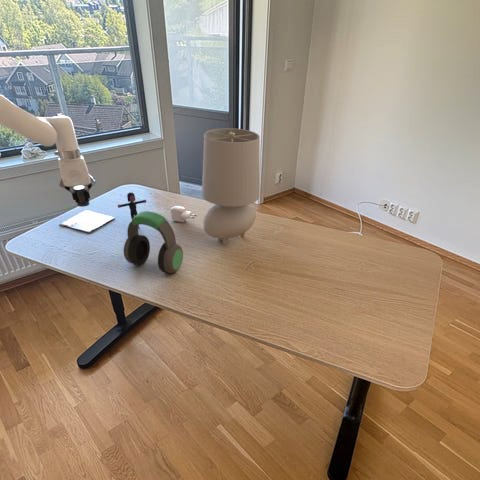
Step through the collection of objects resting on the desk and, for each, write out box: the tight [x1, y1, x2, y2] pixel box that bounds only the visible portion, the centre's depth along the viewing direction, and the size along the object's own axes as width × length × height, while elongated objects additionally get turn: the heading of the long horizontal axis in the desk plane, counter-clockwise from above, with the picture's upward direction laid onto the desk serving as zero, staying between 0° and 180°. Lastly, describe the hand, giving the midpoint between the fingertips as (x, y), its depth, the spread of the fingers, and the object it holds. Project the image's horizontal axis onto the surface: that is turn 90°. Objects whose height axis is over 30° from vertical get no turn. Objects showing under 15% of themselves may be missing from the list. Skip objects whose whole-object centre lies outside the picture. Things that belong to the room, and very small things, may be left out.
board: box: [59, 209, 116, 235], centre depth 149 cm, size 16×16×1 cm
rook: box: [73, 185, 90, 208], centre depth 142 cm, size 5×5×7 cm
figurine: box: [117, 191, 147, 230], centre depth 143 cm, size 12×4×15 cm, turn 123°
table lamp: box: [201, 127, 261, 246], centre depth 129 cm, size 23×22×40 cm
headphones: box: [123, 210, 184, 274], centre depth 119 cm, size 19×11×20 cm, turn 70°
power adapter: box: [170, 205, 198, 223], centre depth 152 cm, size 11×5×6 cm, turn 70°
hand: (82, 200), depth 143 cm, fingers closed on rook, 3 cm apart
